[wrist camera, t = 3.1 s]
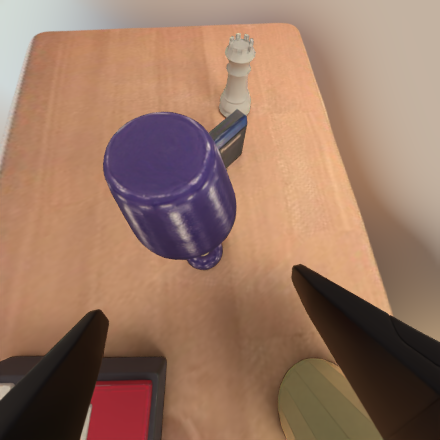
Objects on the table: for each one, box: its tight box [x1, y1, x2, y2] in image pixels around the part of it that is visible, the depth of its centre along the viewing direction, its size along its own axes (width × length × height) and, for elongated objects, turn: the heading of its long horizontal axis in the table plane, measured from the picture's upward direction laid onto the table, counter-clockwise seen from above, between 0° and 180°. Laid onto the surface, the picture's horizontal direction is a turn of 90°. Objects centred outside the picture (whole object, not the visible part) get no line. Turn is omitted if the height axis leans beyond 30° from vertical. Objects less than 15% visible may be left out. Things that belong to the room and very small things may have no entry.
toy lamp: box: [103, 112, 236, 270], centre depth 12 cm, size 5×5×17 cm
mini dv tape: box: [209, 109, 247, 168], centre depth 20 cm, size 8×2×6 cm, turn 137°
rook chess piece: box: [219, 33, 256, 118], centre depth 22 cm, size 4×4×8 cm
